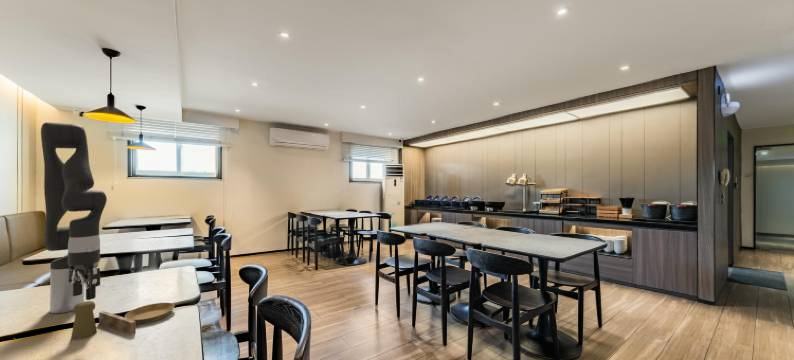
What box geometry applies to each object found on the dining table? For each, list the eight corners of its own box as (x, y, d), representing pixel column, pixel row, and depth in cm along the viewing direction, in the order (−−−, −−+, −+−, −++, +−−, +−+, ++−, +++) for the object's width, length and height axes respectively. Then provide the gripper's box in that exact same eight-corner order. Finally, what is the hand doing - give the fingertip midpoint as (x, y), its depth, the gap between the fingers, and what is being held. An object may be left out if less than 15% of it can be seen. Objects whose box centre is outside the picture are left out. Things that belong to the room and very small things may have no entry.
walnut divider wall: (99, 323, 109) (99, 312, 109) (103, 321, 110) (103, 310, 110) (131, 334, 102) (131, 322, 102) (135, 332, 103) (135, 321, 103)
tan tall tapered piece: (80, 340, 98) (80, 307, 97) (65, 338, 99) (66, 305, 99) (101, 331, 103) (101, 299, 103) (88, 329, 105) (88, 298, 105)
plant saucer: (162, 324, 109) (162, 317, 109) (114, 328, 106) (114, 321, 106) (181, 307, 124) (181, 301, 124) (139, 310, 120) (139, 304, 120)
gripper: (58, 249, 100) (57, 298, 100) (80, 253, 95) (79, 304, 95) (88, 245, 107) (87, 290, 107) (110, 248, 102) (109, 296, 102)
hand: (83, 297), depth 101 cm, fingers open, 8 cm apart
